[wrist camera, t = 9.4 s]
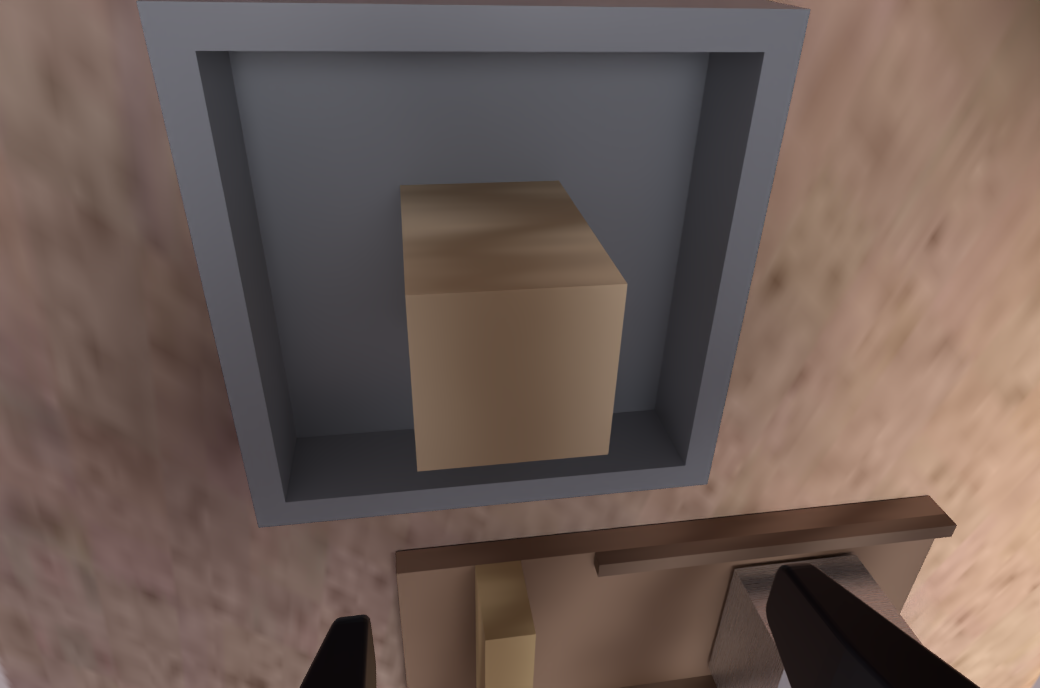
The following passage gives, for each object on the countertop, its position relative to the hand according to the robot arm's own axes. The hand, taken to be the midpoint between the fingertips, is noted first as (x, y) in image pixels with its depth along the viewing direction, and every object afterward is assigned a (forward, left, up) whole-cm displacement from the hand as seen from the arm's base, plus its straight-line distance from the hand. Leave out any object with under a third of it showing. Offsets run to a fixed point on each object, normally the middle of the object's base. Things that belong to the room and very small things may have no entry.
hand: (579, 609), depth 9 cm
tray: (0, 0, -12) cm, 12 cm away
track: (-8, +16, -12) cm, 21 cm away
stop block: (0, 0, -11) cm, 11 cm away
